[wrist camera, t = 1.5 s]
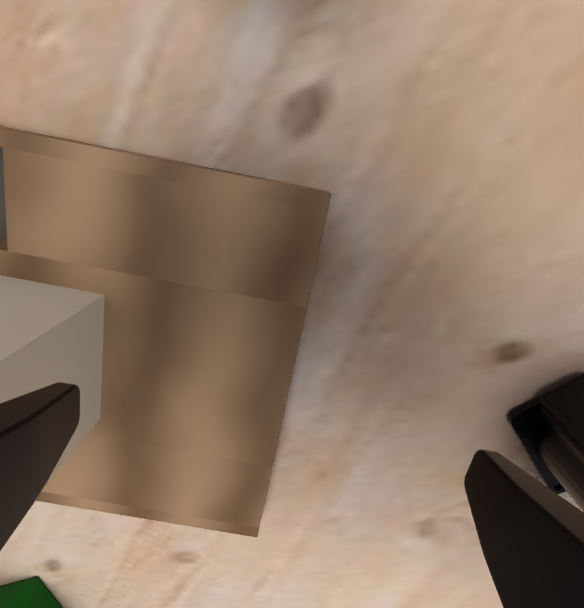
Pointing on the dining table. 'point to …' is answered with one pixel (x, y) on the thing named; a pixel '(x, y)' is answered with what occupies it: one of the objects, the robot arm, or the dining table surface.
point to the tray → (169, 319)
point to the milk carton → (27, 595)
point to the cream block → (52, 345)
